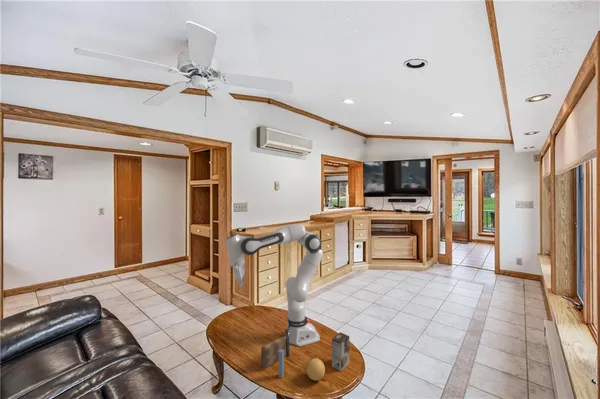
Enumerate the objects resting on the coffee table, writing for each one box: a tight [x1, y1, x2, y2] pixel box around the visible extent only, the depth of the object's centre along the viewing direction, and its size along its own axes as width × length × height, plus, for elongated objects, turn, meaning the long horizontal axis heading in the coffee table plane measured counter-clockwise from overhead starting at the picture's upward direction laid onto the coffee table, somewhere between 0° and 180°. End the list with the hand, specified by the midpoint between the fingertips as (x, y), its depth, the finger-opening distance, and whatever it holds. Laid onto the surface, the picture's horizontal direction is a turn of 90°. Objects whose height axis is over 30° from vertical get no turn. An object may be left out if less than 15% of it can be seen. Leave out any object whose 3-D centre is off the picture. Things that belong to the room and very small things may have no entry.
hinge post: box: [284, 327, 290, 358], centre depth 163 cm, size 3×3×16 cm
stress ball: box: [305, 357, 326, 381], centre depth 143 cm, size 10×10×10 cm
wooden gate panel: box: [260, 335, 286, 370], centre depth 156 cm, size 17×2×11 cm, turn 134°
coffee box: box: [331, 332, 350, 372], centre depth 154 cm, size 9×6×16 cm
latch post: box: [278, 349, 285, 379], centre depth 145 cm, size 2×2×14 cm
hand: (242, 283), depth 166 cm, fingers open, 8 cm apart
